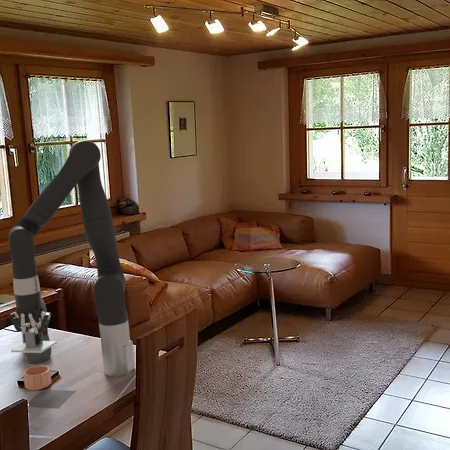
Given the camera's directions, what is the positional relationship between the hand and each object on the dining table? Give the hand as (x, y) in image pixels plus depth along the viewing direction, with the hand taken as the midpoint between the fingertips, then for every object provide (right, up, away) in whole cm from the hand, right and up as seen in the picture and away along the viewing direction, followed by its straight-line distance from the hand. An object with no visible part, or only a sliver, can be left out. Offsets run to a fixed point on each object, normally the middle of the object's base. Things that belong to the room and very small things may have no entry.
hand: (33, 343), depth 183 cm
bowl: (+1, -13, +2) cm, 14 cm away
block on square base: (0, -1, +1) cm, 1 cm away
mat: (+8, -15, -8) cm, 19 cm away
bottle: (-6, -10, +24) cm, 27 cm away
